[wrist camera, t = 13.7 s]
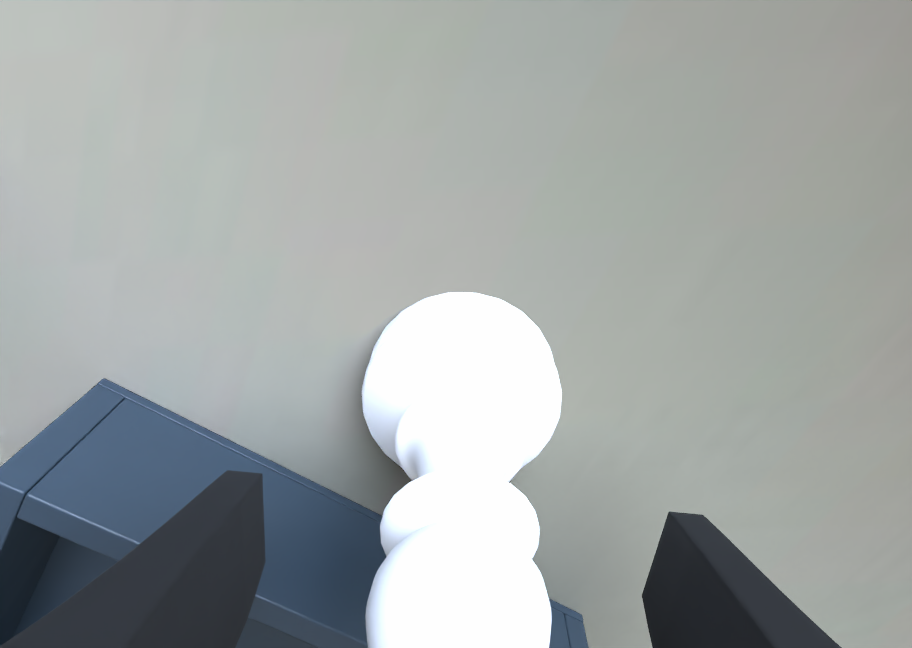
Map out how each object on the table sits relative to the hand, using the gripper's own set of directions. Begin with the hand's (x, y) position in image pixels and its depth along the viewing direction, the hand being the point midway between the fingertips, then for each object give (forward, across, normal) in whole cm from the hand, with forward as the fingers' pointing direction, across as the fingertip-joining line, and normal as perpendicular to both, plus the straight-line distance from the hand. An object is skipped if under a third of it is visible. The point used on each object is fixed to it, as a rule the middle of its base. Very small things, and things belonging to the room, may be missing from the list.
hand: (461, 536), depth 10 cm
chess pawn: (+6, 0, 0) cm, 6 cm away
